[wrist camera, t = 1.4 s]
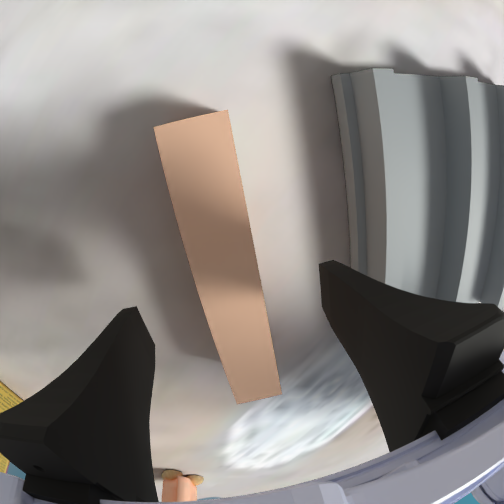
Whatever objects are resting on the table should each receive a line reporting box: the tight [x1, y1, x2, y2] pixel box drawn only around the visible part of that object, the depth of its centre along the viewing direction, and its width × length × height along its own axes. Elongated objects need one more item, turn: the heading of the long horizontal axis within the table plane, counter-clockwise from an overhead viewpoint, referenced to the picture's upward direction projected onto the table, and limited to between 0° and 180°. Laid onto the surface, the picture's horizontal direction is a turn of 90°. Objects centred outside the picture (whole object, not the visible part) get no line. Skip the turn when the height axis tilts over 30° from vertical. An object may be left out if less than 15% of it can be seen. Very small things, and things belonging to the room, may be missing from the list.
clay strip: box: [154, 110, 282, 404], centre depth 14 cm, size 14×2×4 cm, turn 10°
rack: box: [331, 68, 504, 311], centre depth 14 cm, size 16×13×3 cm
